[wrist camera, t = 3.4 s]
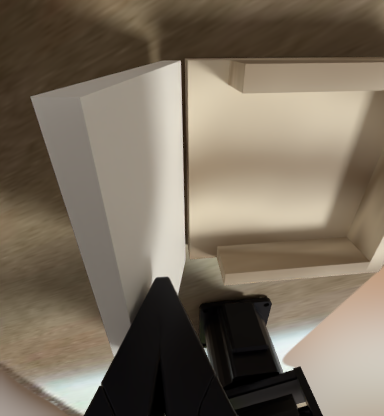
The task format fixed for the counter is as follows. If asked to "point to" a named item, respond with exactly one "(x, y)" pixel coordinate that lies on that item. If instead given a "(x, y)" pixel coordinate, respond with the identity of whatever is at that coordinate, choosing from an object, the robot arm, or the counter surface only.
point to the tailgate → (121, 181)
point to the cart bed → (285, 166)
